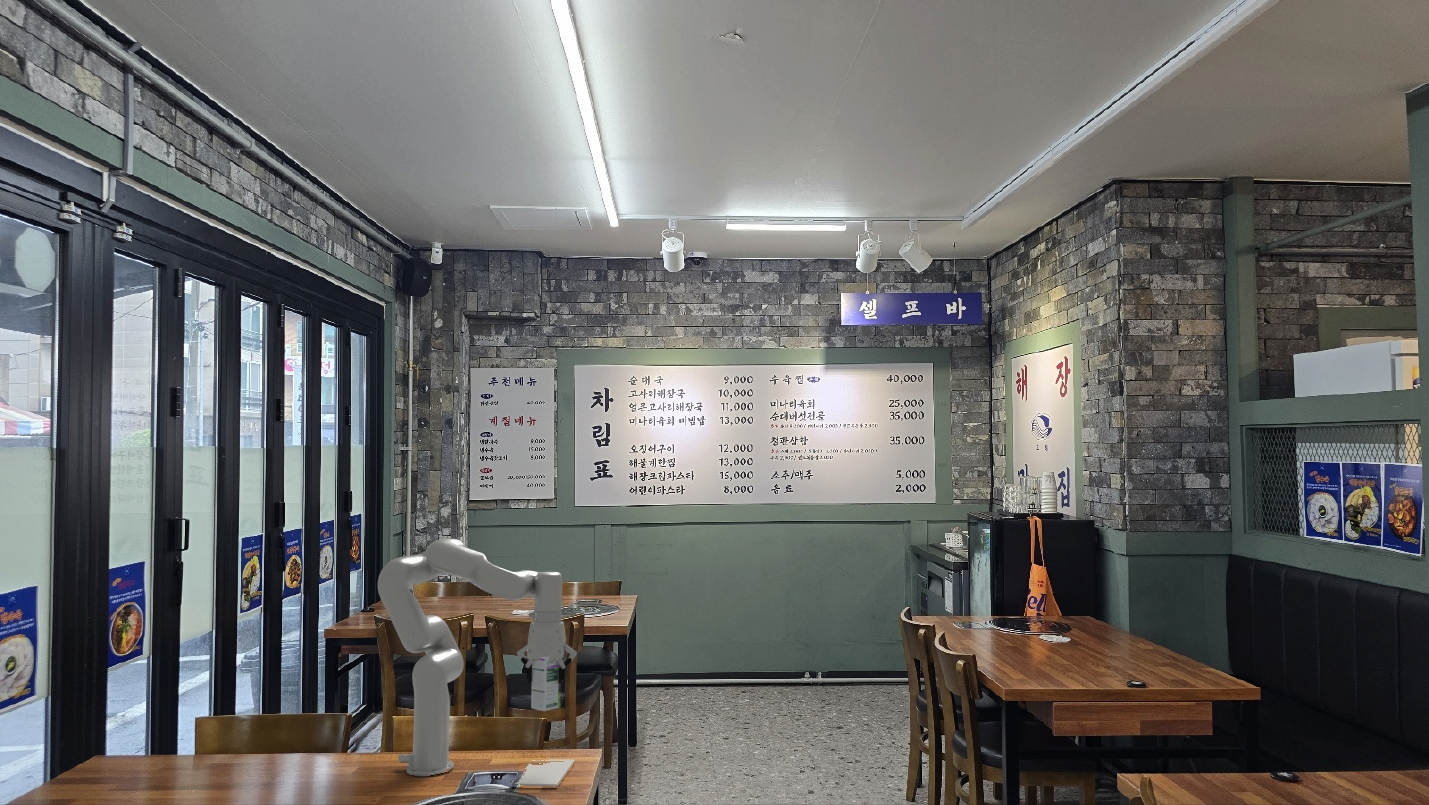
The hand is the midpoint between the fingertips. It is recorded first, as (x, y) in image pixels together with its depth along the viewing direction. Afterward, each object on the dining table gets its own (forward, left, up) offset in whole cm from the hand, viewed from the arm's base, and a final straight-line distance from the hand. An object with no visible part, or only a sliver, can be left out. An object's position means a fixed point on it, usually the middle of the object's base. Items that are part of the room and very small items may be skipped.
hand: (546, 682), depth 243 cm
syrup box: (0, 0, -7) cm, 7 cm away
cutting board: (0, 0, -25) cm, 25 cm away
